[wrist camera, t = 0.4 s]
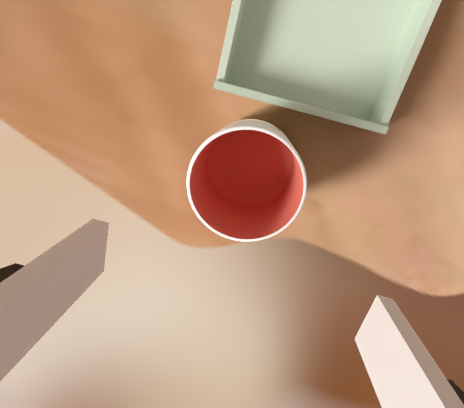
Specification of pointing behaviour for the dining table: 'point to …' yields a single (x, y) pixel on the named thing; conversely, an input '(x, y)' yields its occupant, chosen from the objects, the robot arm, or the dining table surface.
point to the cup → (247, 181)
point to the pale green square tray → (325, 55)
